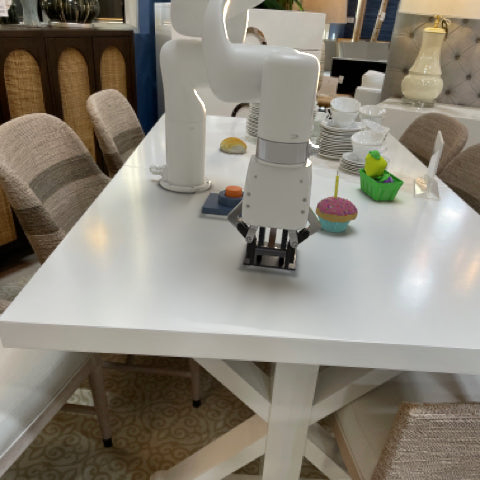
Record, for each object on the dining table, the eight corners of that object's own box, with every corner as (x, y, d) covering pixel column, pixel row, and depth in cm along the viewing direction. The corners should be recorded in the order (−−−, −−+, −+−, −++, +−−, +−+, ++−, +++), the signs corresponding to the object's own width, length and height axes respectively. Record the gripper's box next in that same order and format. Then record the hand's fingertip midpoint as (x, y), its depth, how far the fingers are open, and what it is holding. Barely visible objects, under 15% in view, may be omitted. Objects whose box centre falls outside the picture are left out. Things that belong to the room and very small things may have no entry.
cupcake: (305, 225, 101) (313, 169, 94) (338, 221, 104) (348, 167, 98) (326, 241, 95) (337, 182, 88) (361, 237, 98) (374, 179, 91)
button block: (201, 216, 101) (202, 198, 99) (209, 201, 110) (210, 184, 107) (257, 223, 100) (258, 204, 98) (261, 207, 109) (262, 190, 107)
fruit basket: (400, 202, 118) (412, 156, 112) (368, 202, 116) (378, 156, 110) (380, 187, 127) (390, 144, 121) (349, 188, 126) (358, 144, 119)
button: (224, 197, 102) (224, 189, 101) (226, 192, 105) (227, 184, 104) (240, 199, 101) (241, 191, 100) (242, 194, 104) (243, 186, 103)
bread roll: (241, 147, 155) (241, 134, 153) (249, 154, 148) (250, 140, 146) (216, 147, 153) (217, 134, 151) (223, 154, 146) (224, 140, 144)
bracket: (294, 275, 82) (304, 209, 75) (243, 269, 82) (248, 203, 76) (295, 251, 90) (304, 190, 83) (249, 245, 90) (254, 184, 84)
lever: (285, 261, 76) (286, 251, 74) (254, 258, 76) (254, 248, 74) (291, 207, 82) (292, 197, 80) (262, 204, 82) (263, 194, 80)
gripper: (340, 150, 70) (320, 260, 80) (227, 139, 71) (221, 249, 81) (343, 163, 64) (321, 281, 74) (219, 151, 65) (214, 268, 75)
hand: (269, 263), depth 77 cm, fingers closed on lever, 5 cm apart
